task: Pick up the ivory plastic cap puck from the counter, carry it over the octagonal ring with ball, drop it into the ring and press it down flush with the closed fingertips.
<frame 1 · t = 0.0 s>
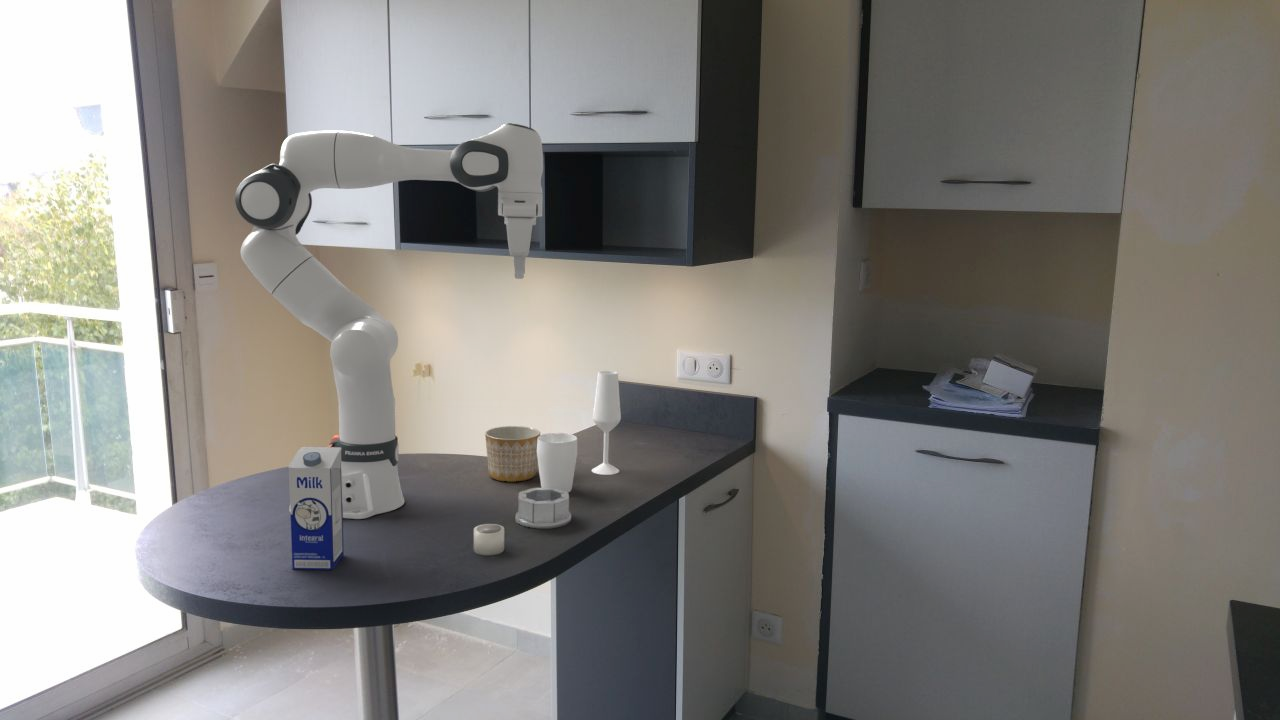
hand: (519, 276, 184), 48 cm above the kitchen counter, fingers open, 8 cm apart
planter: (512, 476, 211), on the kitchen counter
champagne flute: (605, 471, 217), on the kitchen counter
milk carton: (318, 563, 157), on the kitchen counter
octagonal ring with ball: (543, 519, 182), on the kitchen counter
cap: (488, 550, 165), on the kitchen counter
cup: (556, 491, 201), on the kitchen counter
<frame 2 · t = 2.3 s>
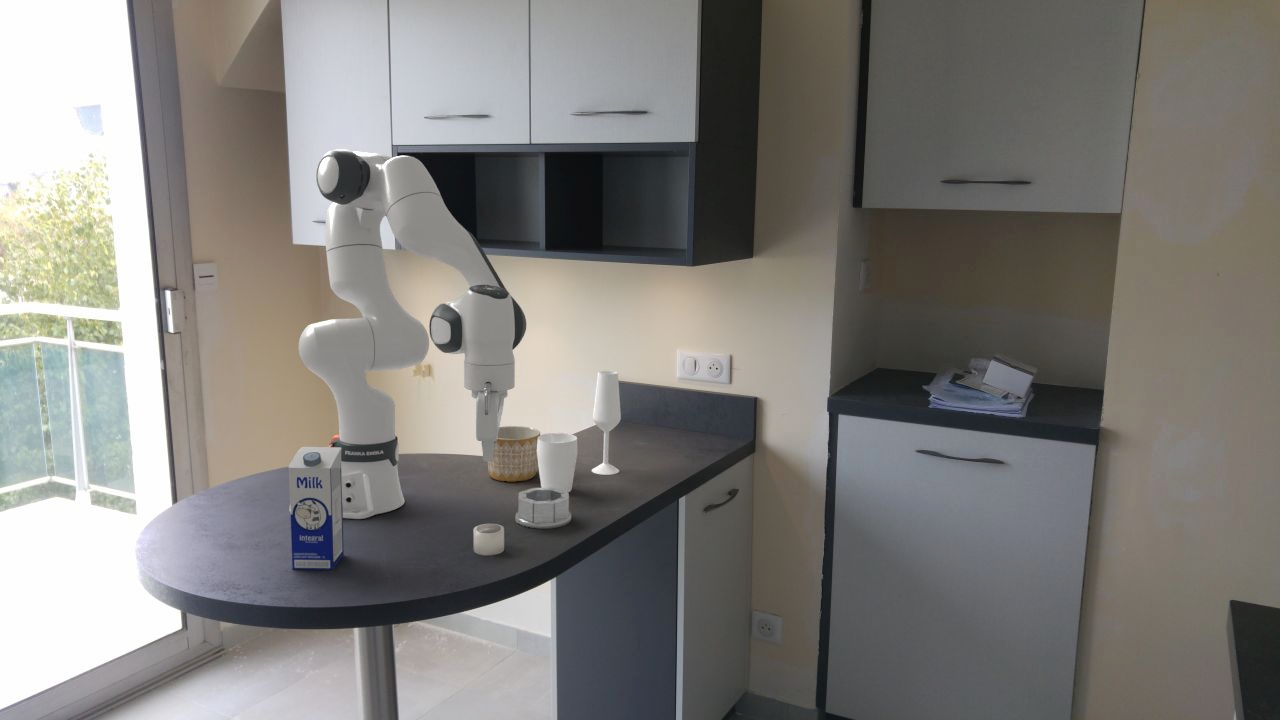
hand: (489, 453, 162), 18 cm above the kitchen counter, fingers open, 8 cm apart
nothing on the kitchen counter moved.
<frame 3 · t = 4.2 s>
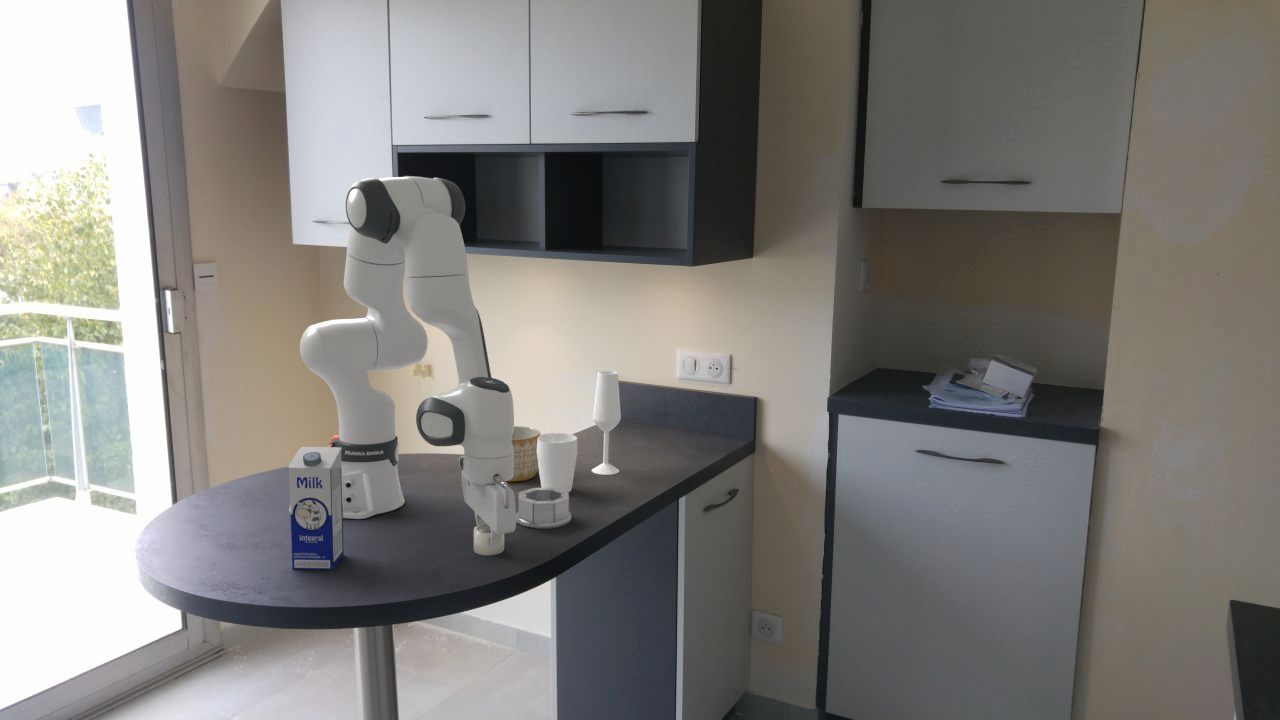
hand: (488, 541, 165), 2 cm above the kitchen counter, fingers closed on cap, 5 cm apart
cap: (488, 549, 165), on the kitchen counter, touching gripper
everything else where it was.
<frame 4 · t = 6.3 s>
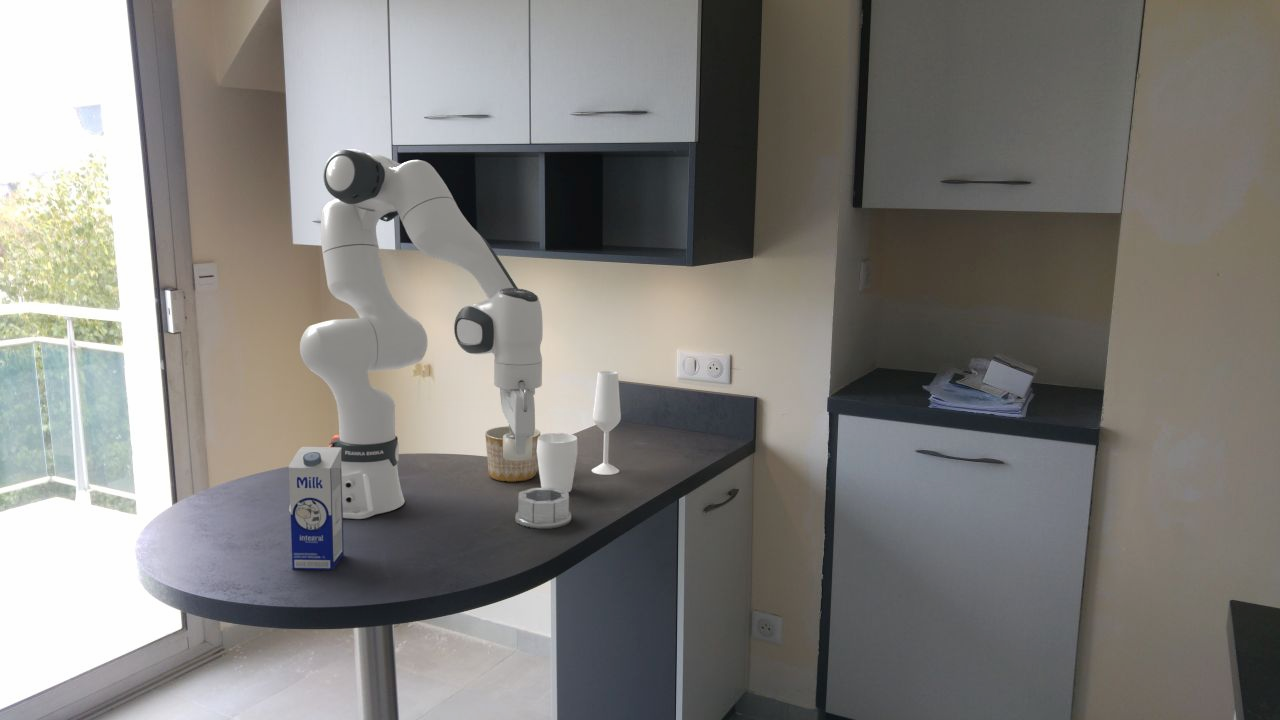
hand: (517, 448, 171), 17 cm above the kitchen counter, fingers closed on cap, 5 cm apart
cap: (517, 456, 171), point 15 cm above the kitchen counter, touching gripper
everything else where it was.
when the fingers open (7 cm above the kitchen counter, at t = 8.4 s): cap drops 4 cm, resting on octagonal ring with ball.
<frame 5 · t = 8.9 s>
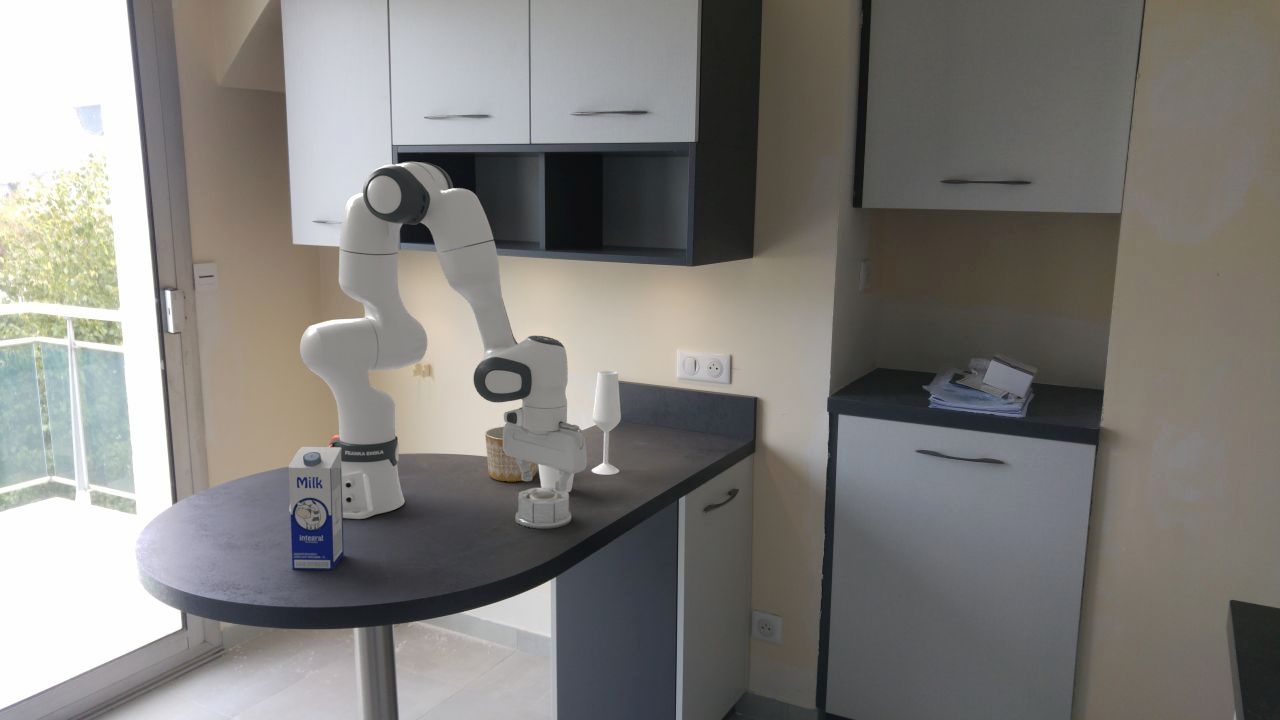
hand: (543, 485, 181), 7 cm above the kitchen counter, fingers open, 8 cm apart
cap: (543, 514, 182), point 1 cm above the kitchen counter, touching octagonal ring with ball
everything else where it was.
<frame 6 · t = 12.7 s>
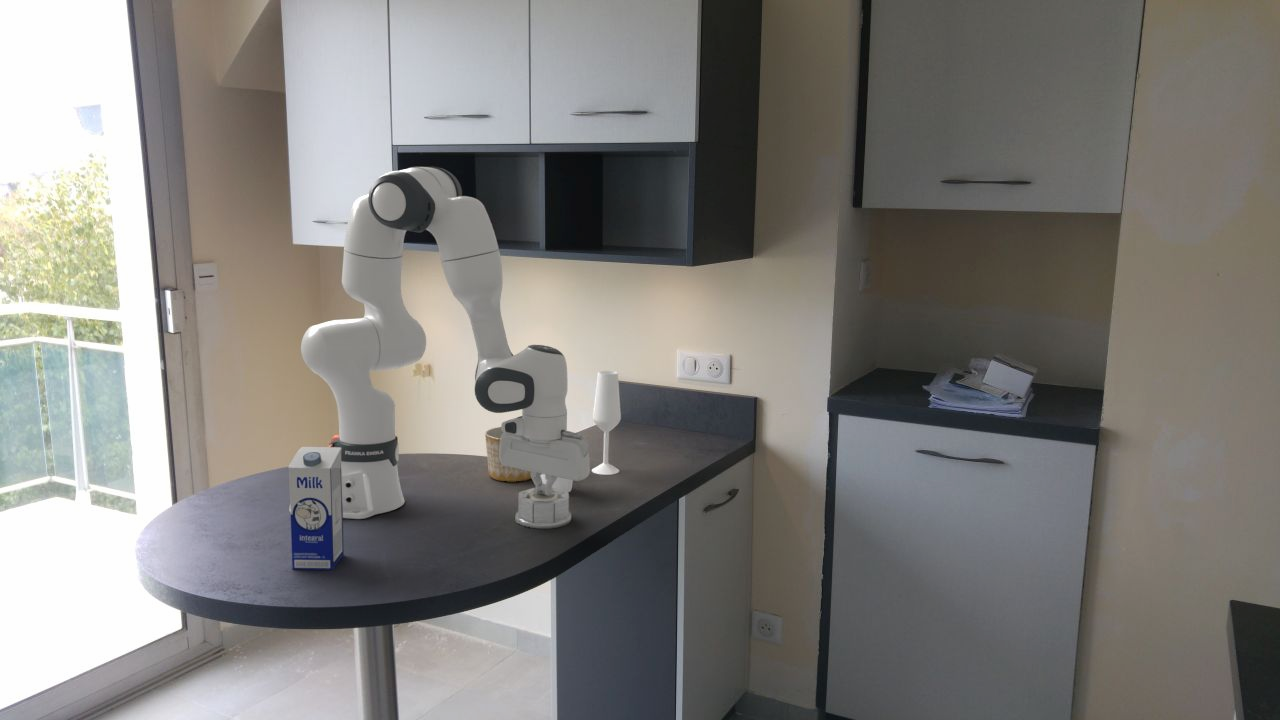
hand: (543, 493, 181), 5 cm above the kitchen counter, fingers closed
nothing on the kitchen counter moved.
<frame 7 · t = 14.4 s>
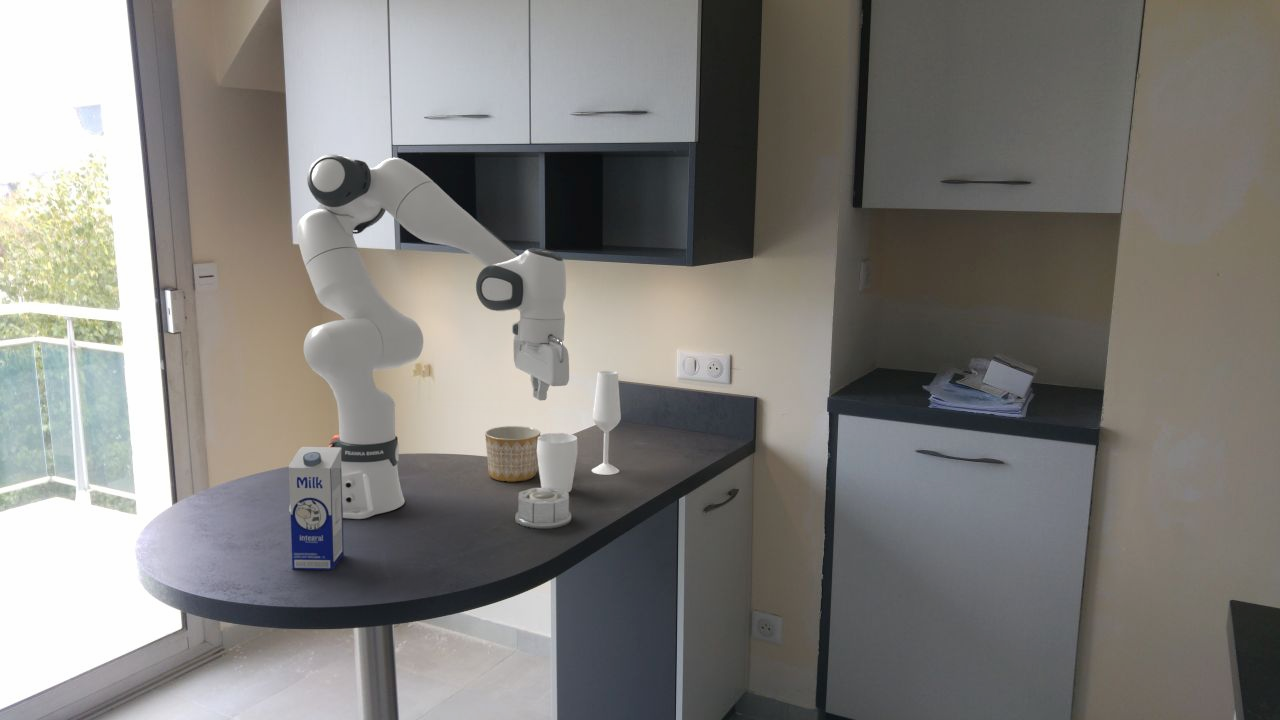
hand: (539, 398, 183), 24 cm above the kitchen counter, fingers closed
nothing on the kitchen counter moved.
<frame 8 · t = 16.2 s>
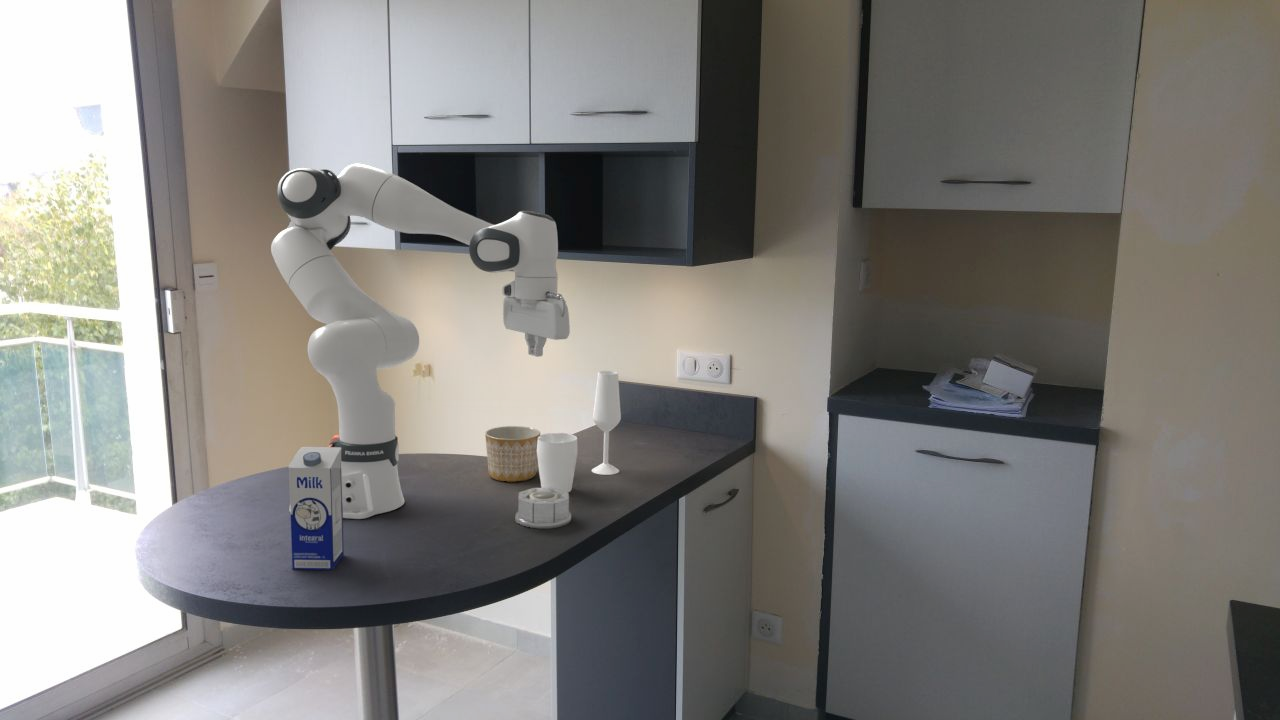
hand: (535, 355, 191), 31 cm above the kitchen counter, fingers closed
nothing on the kitchen counter moved.
at the end: cap 0.0 cm off-centre on the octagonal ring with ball, point 1.0 cm above the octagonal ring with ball's base; cap tilted 0°; the gripper is holding nothing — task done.
